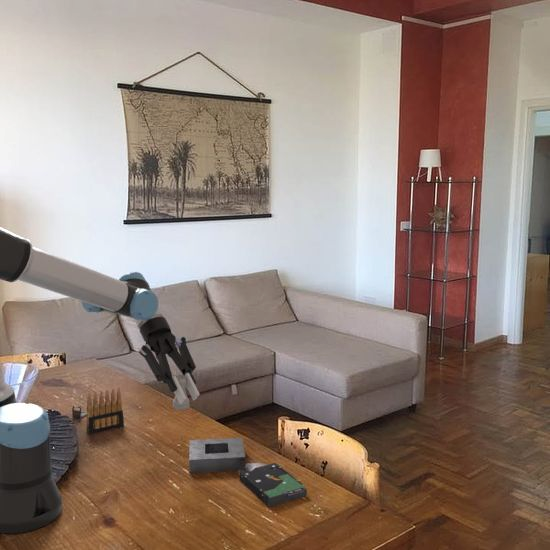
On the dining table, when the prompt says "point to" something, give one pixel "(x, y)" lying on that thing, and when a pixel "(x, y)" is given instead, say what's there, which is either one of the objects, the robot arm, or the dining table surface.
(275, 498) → the disk drive
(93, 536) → the dining table surface
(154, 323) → the robot arm
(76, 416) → the strap clip
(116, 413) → the ammunition clip
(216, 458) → the grey square-hole block
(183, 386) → the rook chess piece
